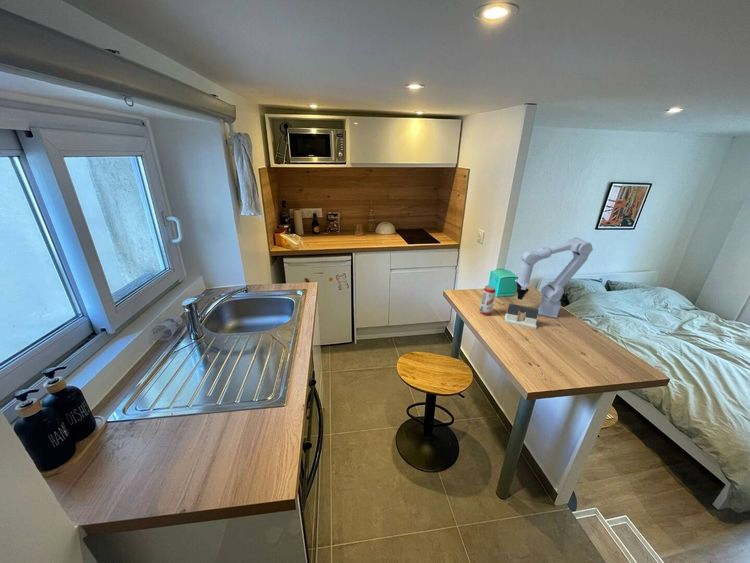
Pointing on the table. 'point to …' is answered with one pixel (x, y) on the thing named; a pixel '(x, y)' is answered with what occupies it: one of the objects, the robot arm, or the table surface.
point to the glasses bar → (529, 311)
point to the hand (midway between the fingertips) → (519, 296)
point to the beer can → (487, 300)
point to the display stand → (520, 320)
